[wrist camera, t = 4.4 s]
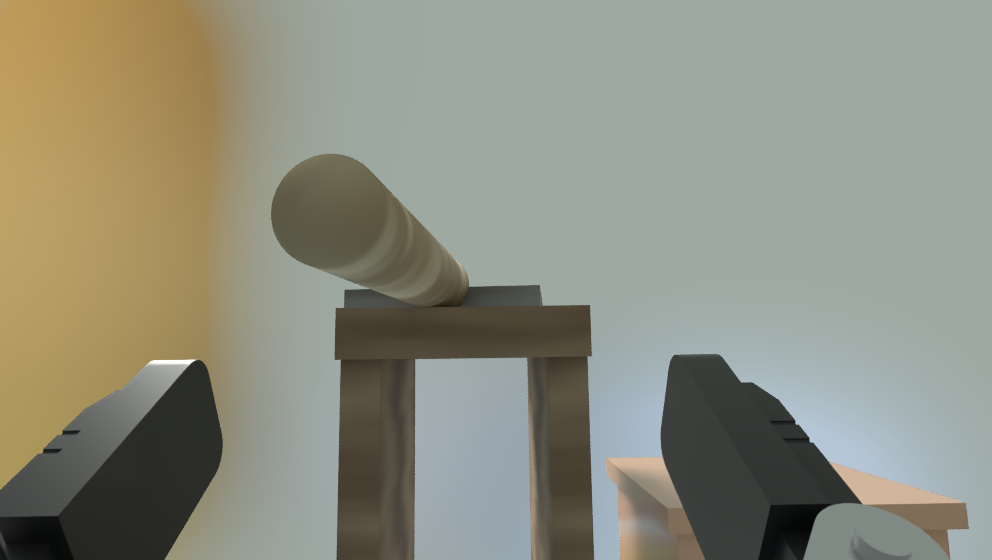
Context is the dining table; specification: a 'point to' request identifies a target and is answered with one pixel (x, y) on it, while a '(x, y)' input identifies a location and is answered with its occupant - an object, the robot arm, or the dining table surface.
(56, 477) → the robot arm
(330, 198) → the trowel
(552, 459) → the plant stand
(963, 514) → the terracotta pedestal
